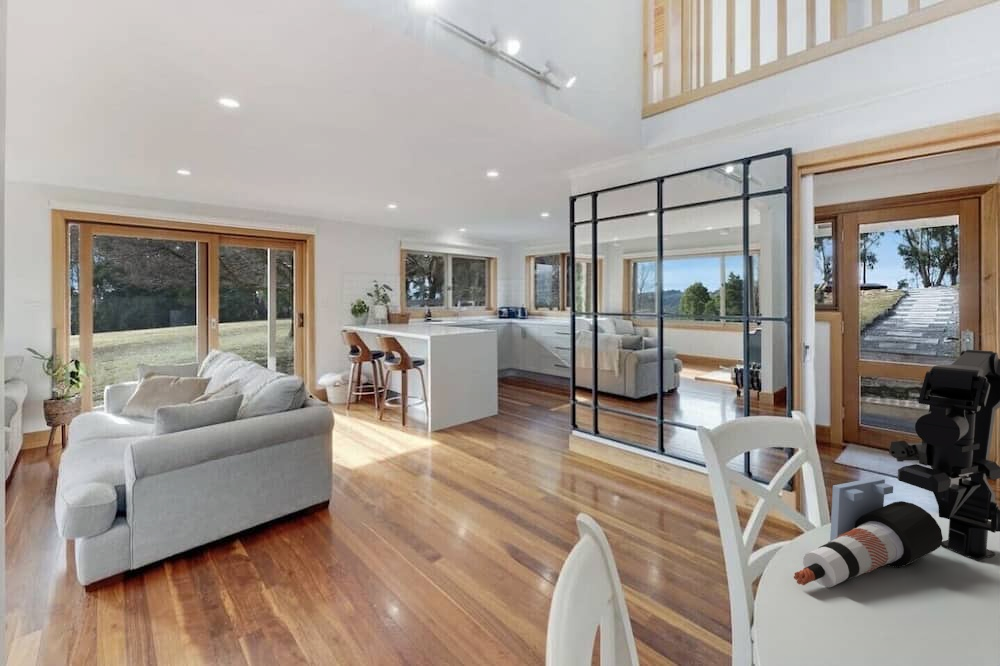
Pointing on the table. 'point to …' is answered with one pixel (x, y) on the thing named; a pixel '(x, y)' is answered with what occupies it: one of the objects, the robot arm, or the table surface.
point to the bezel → (855, 502)
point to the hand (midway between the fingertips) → (946, 516)
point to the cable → (873, 545)
